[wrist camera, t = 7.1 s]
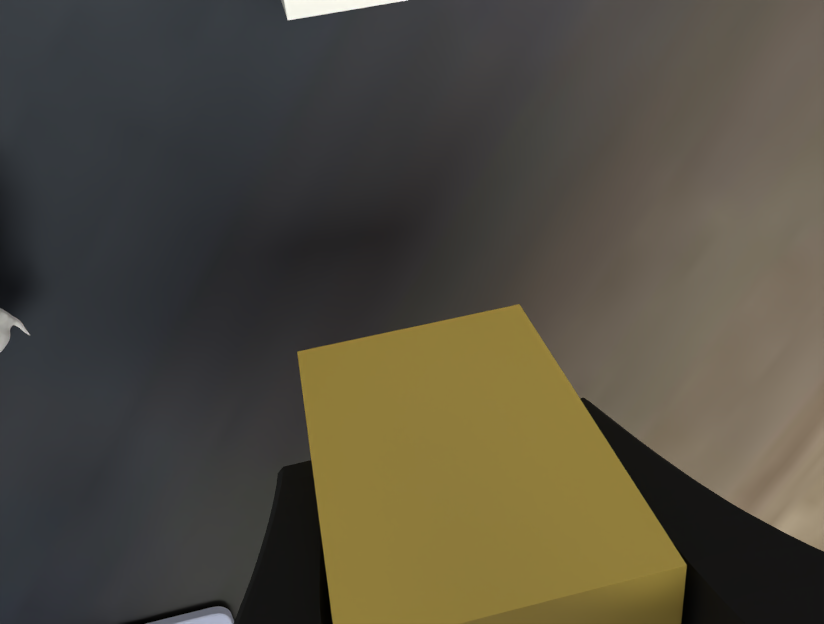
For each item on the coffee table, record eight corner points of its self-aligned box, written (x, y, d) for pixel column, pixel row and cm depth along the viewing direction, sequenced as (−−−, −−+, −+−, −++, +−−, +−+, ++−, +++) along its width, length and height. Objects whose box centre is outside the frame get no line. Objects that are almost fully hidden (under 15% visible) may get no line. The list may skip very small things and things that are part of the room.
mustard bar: (528, 469, 16) (668, 758, 11) (337, 515, 15) (388, 836, 10) (519, 304, 14) (686, 565, 9) (297, 351, 13) (337, 655, 8)
